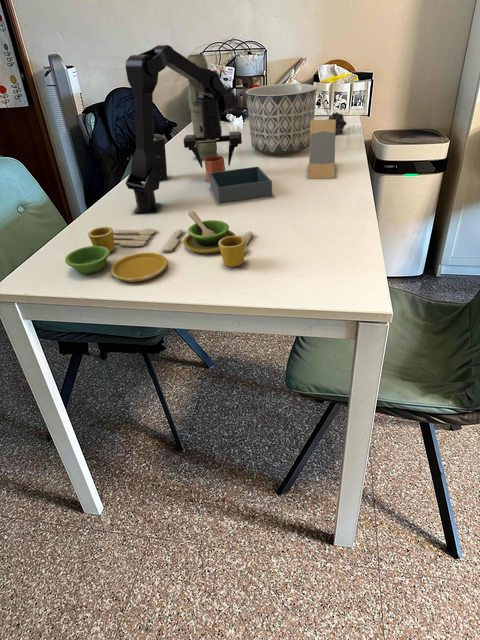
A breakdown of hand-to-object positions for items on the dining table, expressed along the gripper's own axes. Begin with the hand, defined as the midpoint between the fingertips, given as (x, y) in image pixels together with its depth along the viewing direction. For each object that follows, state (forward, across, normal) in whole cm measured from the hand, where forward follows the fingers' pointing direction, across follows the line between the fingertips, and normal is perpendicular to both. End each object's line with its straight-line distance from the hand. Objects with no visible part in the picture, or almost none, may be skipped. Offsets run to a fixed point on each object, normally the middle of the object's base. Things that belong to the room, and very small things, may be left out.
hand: (215, 166), depth 150 cm
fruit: (+5, -51, -55) cm, 75 cm away
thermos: (+5, +5, -29) cm, 30 cm away
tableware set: (+5, +11, +56) cm, 57 cm away
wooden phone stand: (+5, -36, -1) cm, 36 cm away
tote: (+4, -8, +15) cm, 18 cm away
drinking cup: (+5, +20, -5) cm, 21 cm away
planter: (+5, -25, -31) cm, 40 cm away
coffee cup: (+4, 0, 0) cm, 5 cm away
